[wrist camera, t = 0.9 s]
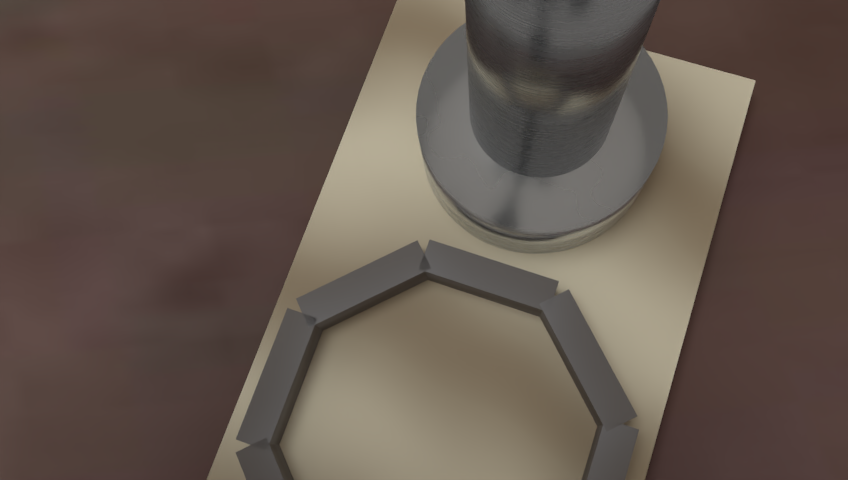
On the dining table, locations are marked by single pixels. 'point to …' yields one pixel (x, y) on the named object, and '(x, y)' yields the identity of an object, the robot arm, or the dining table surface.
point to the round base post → (542, 119)
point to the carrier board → (478, 306)
